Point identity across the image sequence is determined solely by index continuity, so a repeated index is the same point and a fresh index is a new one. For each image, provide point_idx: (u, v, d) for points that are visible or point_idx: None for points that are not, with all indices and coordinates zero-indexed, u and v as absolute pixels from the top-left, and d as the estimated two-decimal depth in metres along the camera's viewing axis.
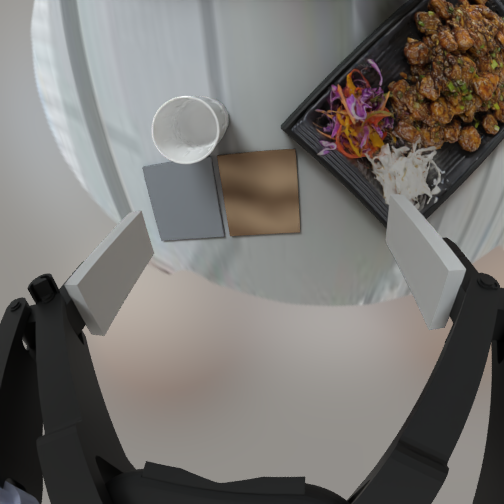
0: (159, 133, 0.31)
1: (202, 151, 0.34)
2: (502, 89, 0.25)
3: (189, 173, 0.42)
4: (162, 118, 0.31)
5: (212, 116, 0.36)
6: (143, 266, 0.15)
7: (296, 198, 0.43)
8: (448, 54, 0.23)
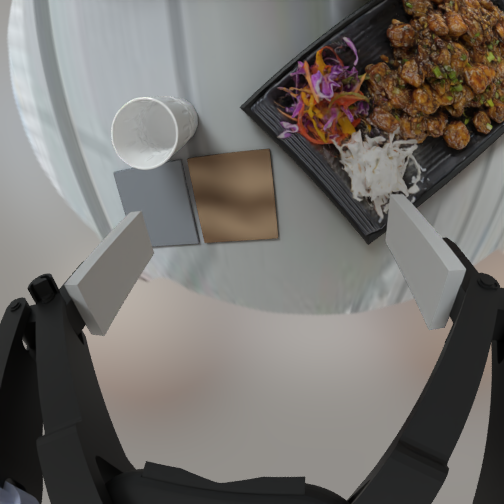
0: (120, 138, 0.29)
1: (166, 155, 0.32)
2: (498, 86, 0.23)
3: (159, 178, 0.39)
4: (123, 122, 0.28)
5: None
6: (143, 266, 0.15)
7: (272, 202, 0.40)
8: (436, 37, 0.20)
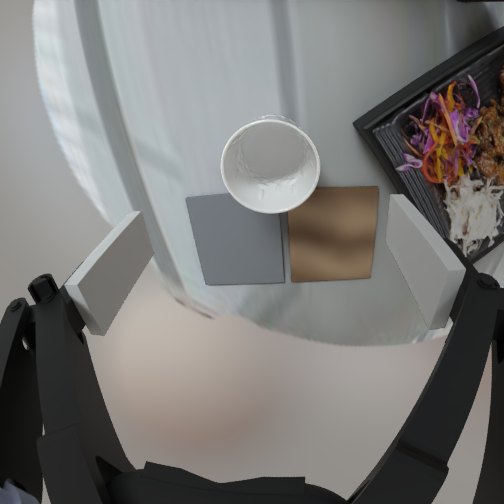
0: (228, 167, 0.24)
1: (282, 192, 0.27)
2: None
3: (248, 209, 0.35)
4: (232, 146, 0.24)
5: (286, 141, 0.29)
6: (143, 266, 0.15)
7: (372, 242, 0.36)
8: None
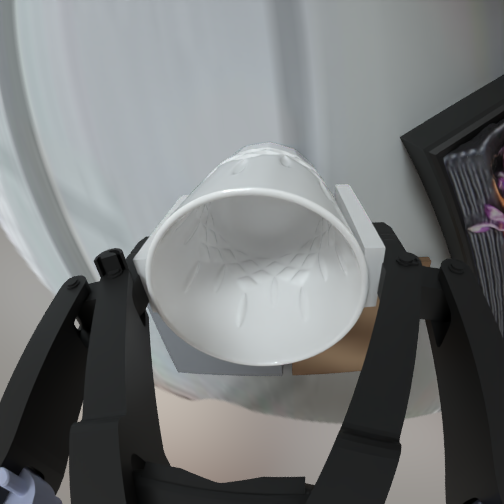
0: (169, 276, 0.12)
1: (281, 304, 0.15)
2: None
3: None
4: (173, 233, 0.11)
5: None
6: None
7: None
8: None
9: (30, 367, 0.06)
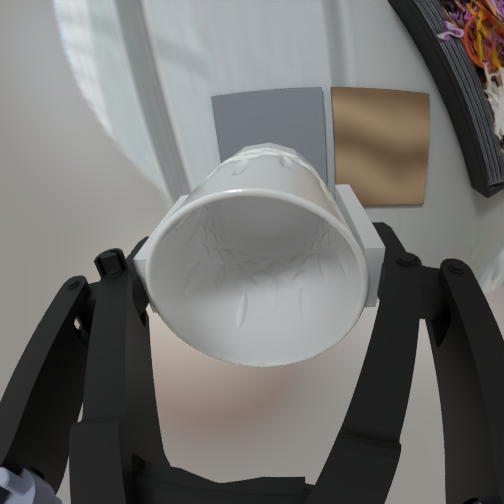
0: (169, 277, 0.12)
1: (281, 304, 0.15)
2: None
3: (287, 108, 0.27)
4: (173, 233, 0.11)
5: None
6: None
7: (425, 157, 0.27)
8: None
9: (30, 367, 0.06)
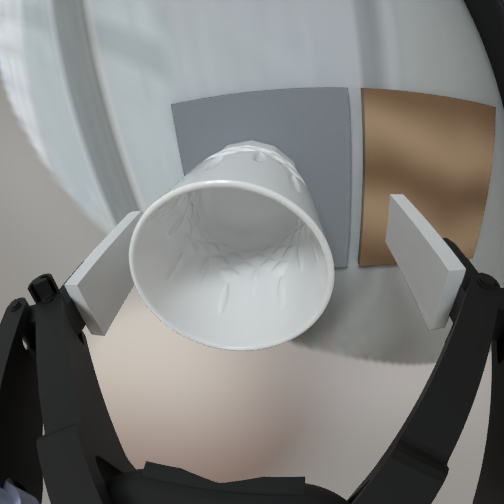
0: (153, 265, 0.13)
1: (261, 293, 0.15)
2: None
3: (292, 120, 0.17)
4: (156, 225, 0.12)
5: None
6: None
7: (484, 198, 0.17)
8: None
9: None
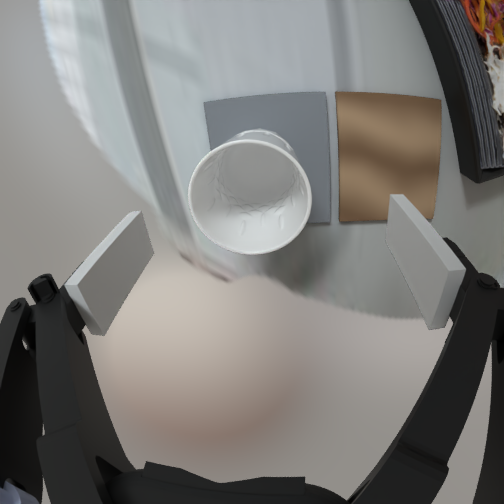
0: (199, 198, 0.20)
1: (267, 224, 0.23)
2: None
3: (287, 115, 0.24)
4: (203, 172, 0.20)
5: (273, 161, 0.25)
6: (143, 266, 0.15)
7: (436, 169, 0.25)
8: None
9: None
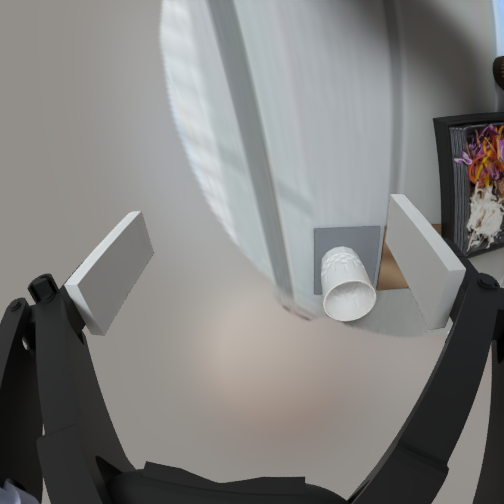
0: None
1: (349, 303, 0.45)
2: None
3: (359, 239, 0.46)
4: None
5: None
6: (143, 266, 0.15)
7: None
8: None
9: None
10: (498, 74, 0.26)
